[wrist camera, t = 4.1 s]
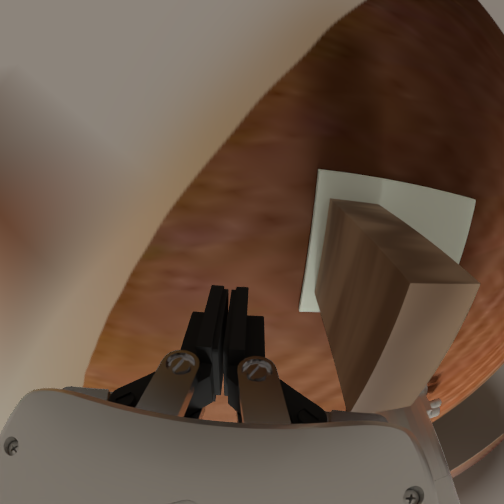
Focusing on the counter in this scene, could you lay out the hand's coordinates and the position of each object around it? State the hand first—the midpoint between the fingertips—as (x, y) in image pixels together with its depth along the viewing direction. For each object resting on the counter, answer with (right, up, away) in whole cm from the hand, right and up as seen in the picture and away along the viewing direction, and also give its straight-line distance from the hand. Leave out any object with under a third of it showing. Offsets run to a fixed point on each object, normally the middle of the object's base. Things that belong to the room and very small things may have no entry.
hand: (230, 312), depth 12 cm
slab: (+8, +3, +8) cm, 12 cm away
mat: (+13, +3, +9) cm, 16 cm away
